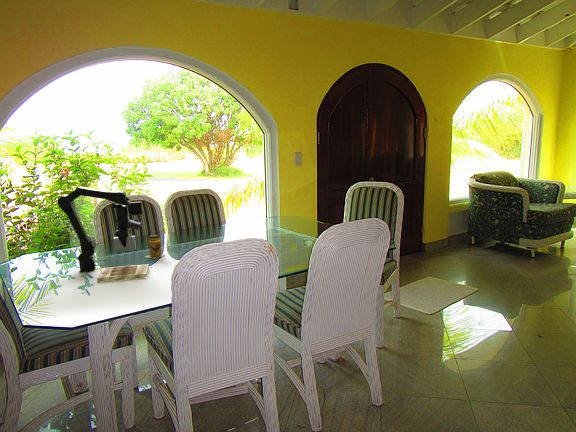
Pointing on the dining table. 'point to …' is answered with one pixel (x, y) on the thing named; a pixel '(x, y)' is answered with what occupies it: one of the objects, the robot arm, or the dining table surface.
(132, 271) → the rack
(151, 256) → the condiment
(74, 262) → the dining table surface
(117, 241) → the panel
